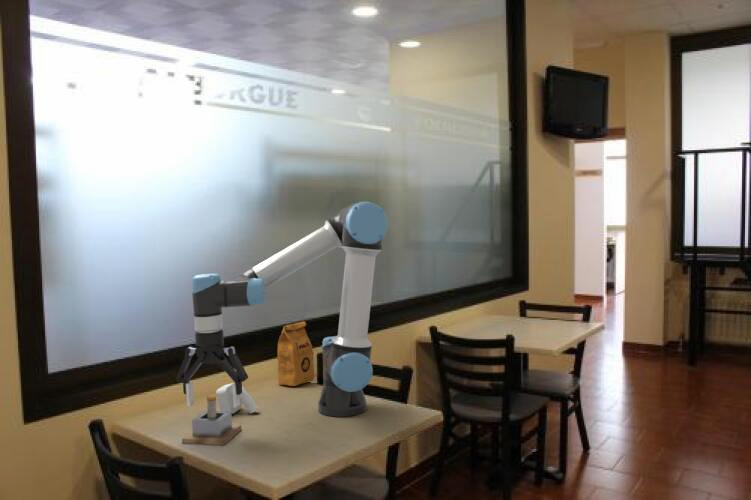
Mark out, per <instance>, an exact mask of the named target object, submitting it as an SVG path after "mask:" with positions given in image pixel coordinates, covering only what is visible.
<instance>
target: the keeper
mask: <svg viewBox="0 0 751 500" xmlns="http://www.w3.org/2000/svg"><path fill="white" fill-rule="evenodd" d="M206 409H207V410H206V411H207V415H208V419H217V417H216V411H217V395H215V394H213V395H212V394H211V395H207V396H206ZM241 430H242V425H240V424H232V428H231V429H230V430H228V431H227V432H226V433H225V434H224V435H223V436H222V437H220V438H219V437H198V436H193V430H191V431H190V432H189V433H188V434H186V435H185V436H184V437H183V438H181V439H182V441H181V442H182V444H194V445H195V444H196V445H198V444H199V445H216V446H226V444H227V443H229V442H230V440H232V439H233V437H235V436H236V435H237V434H238V433H239V432H240V431H241Z"/></svg>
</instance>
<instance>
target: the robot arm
mask: <svg viewBox="0 0 751 500" xmlns="http://www.w3.org/2000/svg"><path fill="white" fill-rule="evenodd" d="M388 221H389V220H388V216H387V213H386V212H385V211H384V210H383V208H382V207H381V206H379V205H378V204H376V203H373V202H371V201H359V202H353V203H350V204H349V205H347V206H346V207H344V208H343V209H341V210H340V211H339V212H338V213H336V214H335V215H333V216H331V217H330V218H328V219H326V220H325V221H324V225H323V226H321V227H320V228H317V229H315V230H314V231H313V232H311V233H310V234H307V235H306V236H304V237H303V238H301V239H299V240H297V241H296V242H294V243H292V244H291V245H289V246H287V247H285V248H283V249H282V250H280V251H279V252H277V253H275V254H273V255H271V256H270V257H269V258H267V259H265V260H263V261H262V262H260V263H257V265H253V267H251V268H249V269H248V270H246V271H244V272H242V273H238V274H237V275H236V276H234V277H233V278H232V279H230V280H226V279H225V280H222V279H221V275H220V274H218V273H202V274H197V275H194V276H193V277H192V280H191V281H192V284H191V285H192V286H191V287H192V292H191V293H192V295H191V296H192V303H193V304H192V307H193V319H194V323H193V324H194V330H195V333H194V339H195V346H196V347H193V346H189V347H187V348H185V350H184V357H183V360H182V362H181V365H180V366H179V370H178V372H177V375H176V377H175V381H177V382H181V383H182V387H183V388H182V390H183V394H184V395H186V407H187V408H191V407H192V406H193V405H195V397H194V394H195V393H194V381H193V380H191V379H192V378H193V377H194V375H195V374H196V372H197V371H198V370H199V368H200V367H201V366H202V365H203V364H204V365H208V364H210V365H216V364H217V366H219V367H221V368H222V370H223V371H224V372H225V373H226V374H227V375H228V376H229V377H230V379H231V380H232V381H233V382H232V383H233V384H232V388H233V406H234V407H235V408H236V407H237V406H239V405H240V397H239V395H240V394H241V393H242V387H243V382H245V381H246V380H248V379H249V375H248V374H247V371H246V370H245V368H244V366H243V363H242V362H241V361H240V358H239V357H238V355H237V351H236V347H235V346H230V347H225V345H224V344H225V343H224V342H225V340H224V339H225V338H224V330H223V329H222V328H223V327H224V323H223V309H224V308H235V307H239V308H240V307H255V306H261V305H263V304H264V305H265V303H266V289H267V288H269V287H271V286H273V285H274V284H276V283H277V282H279V281H281V280H282V279H285V278H286V277H288V276H290V275H292V274H293V273H295V272H297V271H298V270H300V269H302V268H303V267H305V266H307V265H309V264H310V263H313V262H314V261H316V260H317V259H319V258H320V257H322V256H324V255H326V254H328V253H329V252H330V251H333V250H334V249H335V248H340V249H343V252H345V259H344V260H345V261H344V271H343V280H342V288H341V289H342V290H341V291H342V292H341V299H340V311H339V318H338V319H339V321H338V328H337V329H338V330H337V335H334V336H326V337H324V338H323V340H322V346H321V349H322V382H323V384H322V389H321V392H320V396H319V399H318V403H317V406H318V407H317V409H318V412H319V413H320V414H322V415H324V416H329V417H338V418H340V417H341V418H344V417H352V416H356V415H360V414H362V413H364V412H365V411H366V410H367V404H368V403H367V399H366V396H365V393H364V390H363V389H364V388H366V386H367V385H368V384H369V383H370V382H371V380H372V379H373V374H374V373H373V372H374V371H373V365H372V364H373V363H372V362H371V355H372V346H373V343H371V341H370V340H369V339H368V333H369V332H368V331H369V323H370V313H371V306H372V296H373V295H372V294H373V286H374V285H373V284H374V274H375V266H376V257H377V255H379V253H381V252H382V249H383V241H384V239H383V238H384V237H385V235H386V234H387V231H388V227H389V222H388ZM225 354H226V355H227V356H228V358H229V360H230V362H229V361H228V359H227V358H226V357H225ZM194 355H196V356H197V359H196V360H195V362H194V364H192V366H191V367H190V369H189V370H188V368H189V365H190V363H191V360H192V358H193V356H194ZM231 364H232V365H231ZM187 371H188V372H187Z"/></svg>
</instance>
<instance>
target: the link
mask: <svg viewBox="0 0 751 500" xmlns="http://www.w3.org/2000/svg"><path fill="white" fill-rule="evenodd" d="M232 415H233V414H232V412H224V411H220V410H216V417H217V419H208V415H207V410H204V411H202V412H201V413H200V414H198V415H197V416H196V417H195V418H193V419H192V422H191V424H192V425H191V427H192V428H191V429H192V430H191V431H193V436H198V437H219V438H220V437H222V436H223V435H224V434H225V433H226V432H227V431H228V430H230V429H231V428H232V425H233V421H232V420H233V419H232Z"/></svg>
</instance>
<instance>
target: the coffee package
mask: <svg viewBox="0 0 751 500" xmlns="http://www.w3.org/2000/svg"><path fill="white" fill-rule="evenodd" d="M306 326H307V323H306V321H301V322H300V321H299V322H296V323H291V324H287V325H284V326H283V328H282V330H281V334H280V335H279V338H278V342H277V359H276V360H277V376H278V378H277V380H278V381H277V383H278V385H279V386H289V387H296V386H299V385H304V384H307V383H310V382H312V381H313V380H314V378H315V368H314V366H315V365H314V350H313V345H312V343H311V340H310V338H309V336H308V334H307V331H306V329H305V327H306Z"/></svg>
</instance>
